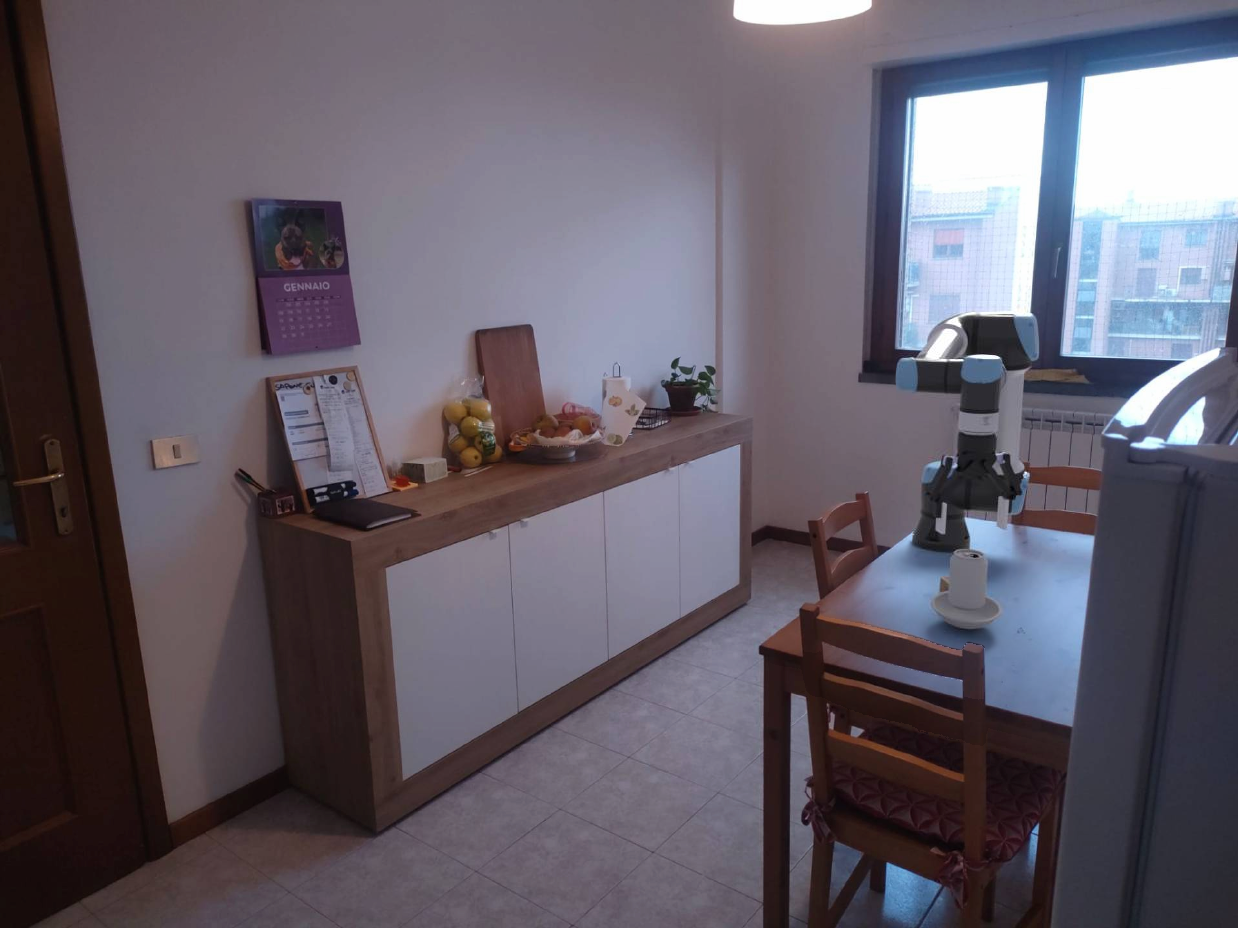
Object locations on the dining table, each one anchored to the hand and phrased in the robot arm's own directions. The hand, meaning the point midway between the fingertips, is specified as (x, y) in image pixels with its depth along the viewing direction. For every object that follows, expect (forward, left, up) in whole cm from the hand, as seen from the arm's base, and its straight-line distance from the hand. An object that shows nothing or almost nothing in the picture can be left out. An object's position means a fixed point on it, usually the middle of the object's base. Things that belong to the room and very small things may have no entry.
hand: (971, 530), depth 181 cm
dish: (0, 0, -22) cm, 22 cm away
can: (0, 0, -17) cm, 17 cm away
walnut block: (-7, -17, -22) cm, 29 cm away
